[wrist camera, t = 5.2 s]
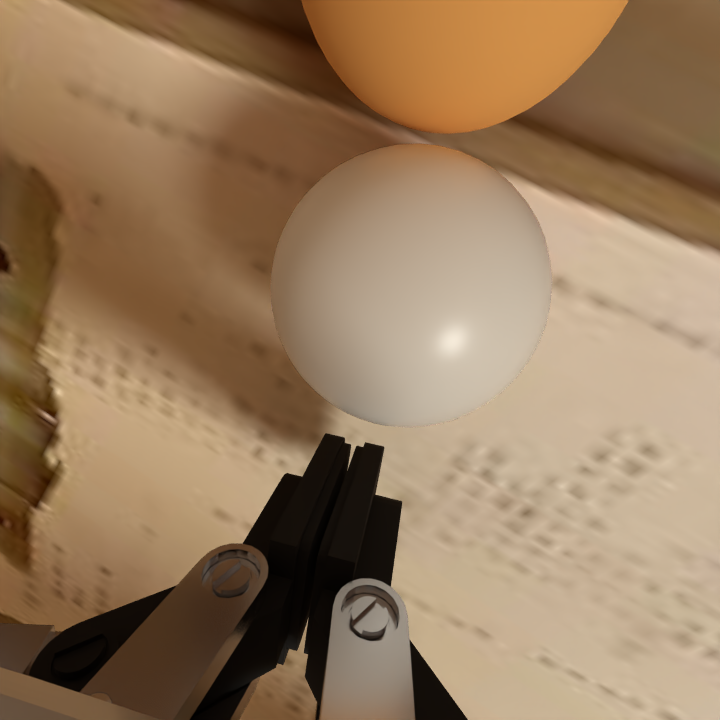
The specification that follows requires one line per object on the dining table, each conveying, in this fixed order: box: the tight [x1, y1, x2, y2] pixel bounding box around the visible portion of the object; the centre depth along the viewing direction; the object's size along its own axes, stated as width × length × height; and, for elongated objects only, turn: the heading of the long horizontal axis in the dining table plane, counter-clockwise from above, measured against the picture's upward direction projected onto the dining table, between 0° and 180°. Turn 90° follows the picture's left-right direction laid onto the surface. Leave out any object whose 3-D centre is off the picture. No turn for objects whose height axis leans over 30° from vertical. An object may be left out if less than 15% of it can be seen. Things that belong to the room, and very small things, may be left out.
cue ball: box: [270, 144, 552, 427], centre depth 8 cm, size 6×6×6 cm
